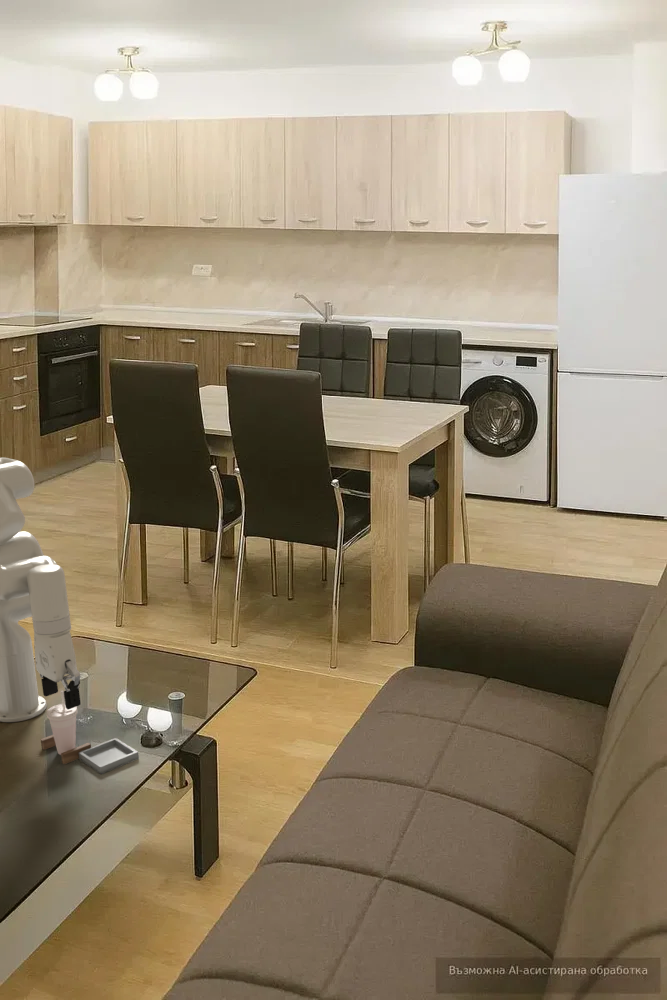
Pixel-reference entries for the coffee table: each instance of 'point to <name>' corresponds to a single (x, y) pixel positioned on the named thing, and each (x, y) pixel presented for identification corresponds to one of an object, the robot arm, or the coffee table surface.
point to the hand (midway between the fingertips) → (62, 700)
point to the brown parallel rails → (67, 755)
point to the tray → (108, 755)
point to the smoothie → (63, 726)
